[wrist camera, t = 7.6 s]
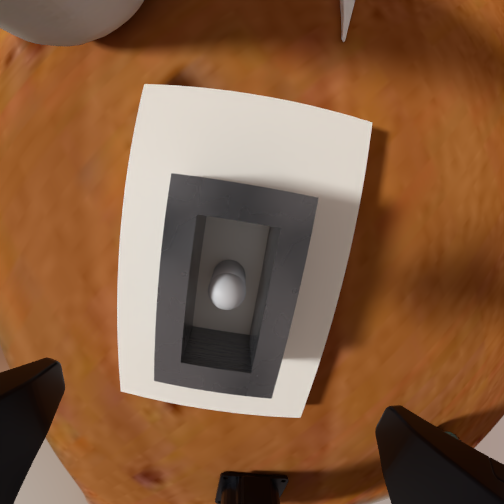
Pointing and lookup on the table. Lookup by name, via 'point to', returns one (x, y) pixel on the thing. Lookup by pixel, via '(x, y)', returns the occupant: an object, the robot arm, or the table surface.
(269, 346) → the steel link
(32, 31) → the glass bottle
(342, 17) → the white elongated figurine
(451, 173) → the table surface
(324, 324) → the keeper board
